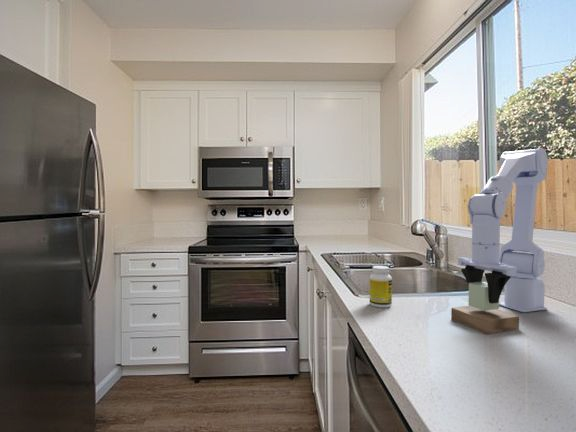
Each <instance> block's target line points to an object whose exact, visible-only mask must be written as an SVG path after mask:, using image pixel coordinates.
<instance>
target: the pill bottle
mask: <svg viewBox="0 0 576 432" xmlns="http://www.w3.org/2000/svg"><path fill="white" fill-rule="evenodd" d="M372 272H373V273H371V274H370V275H369V304H370V306H371V307H374V308H381V309H382V308H384V309H387V308H390V307H391V306H392V303H393V302H392V301H393V298H392V297H393V294H392V292H393V276H391V275H390V274H389V273H390V267H389V266H385V265H374V266H373V265H372Z"/></svg>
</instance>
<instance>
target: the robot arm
mask: <svg viewBox="0 0 576 432" xmlns="http://www.w3.org/2000/svg"><path fill="white" fill-rule="evenodd" d="M546 151H547V150H546V149H544V148H543V147H538V148H533V149H532V148H531V149H522V150H513V151H503V152H502V154H501V155H500V158H499V167H500V169H499V171H498V173H497V175H492V176H491V177H490V178H489V179H488V180H487V182H486V183H485V185H484V187H482V189H481V190H480V192H479V193H475V194H474V195H473V196H471V197H469V199H468V205H467V211H468V212H467V213H468V215H469V223H470V224H471V227H472V229H471V232H472V233H471V257H469V258H468V257H464V256H463V257H457V266H461V267H462V266H463V267H464V268H461V270H460V271H461V273H462V275H463V276H464V278H465V281H466V283H467V286H468V287H469V283H474V282H483V281H482V280H483V277H484V276H485V279H486V283H487V284H488V298H489V303H498V301H499V306H501V307H504V308H508V309H511V310H514V311H517V312H520V313H530V312H536V311H538V312H539V311H544V310H548V307H546V306H545V293H546V292H545V290H546V288H545V283H544V281H543V279H541V276H542V275H543V274H544V271H545V268H546V267H545V265H546V264H545V252H544V250H543V248H542V247H540V246H539V245H538V244H537V243H535V242H534V241H533V238H534V226H535V216H536V208H537V207H536V205H537V197H538V196H537V195H538V194H537V193H538V189H539V183H541V182H543V181H545V180H546V177H547V174H548V154H547V152H546ZM514 184H515V186H516V190H515V201H514V211H513V220H512V221H513V222H512V232H511V233H512V234H511V239H510V240H509V241H508V242H506V243H505V244H502V246H501V247H500V236H501V235H500V232H501V231H500V230H501V218H503V216H504V215H505V212H506V205H507V204H508V202H507V199H508V197H509V196H510V195H511V193H512V191H513V189H514ZM485 271H488V272H485ZM483 275H484V276H483ZM503 290H504V301H501V302H500V298H501V294H502V292H503Z"/></svg>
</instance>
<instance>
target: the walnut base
mask: <svg viewBox="0 0 576 432" xmlns="http://www.w3.org/2000/svg"><path fill="white" fill-rule="evenodd" d="M450 313H451V314H450V315H451V318H450V319H451V320H452V321H453V322H456V323H459V324H461V325H462V326H463V325H464V326H466V327H468V328H470V329H473V330H475V331H477V330H478V331H477V332H480V333H482V334H485V335H489V334H495V333H496V334H497V333H502V332H508V331H515V330H520V316H519V315H518V314H513V313H510V312H507V311H504V310H501V309H494V310H486V311H484V310H481V309H478V308H475V307H472V306H469V305H463V306H456V307H451V311H450Z"/></svg>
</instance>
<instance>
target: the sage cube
mask: <svg viewBox="0 0 576 432" xmlns="http://www.w3.org/2000/svg"><path fill="white" fill-rule="evenodd" d="M499 302H500V300H499V301H498V303H489V298H488V284H487V281H481V282H474V283H469V286H468V305H467V306H472V307H475V308H478V309H481V310H484V311H486V310H494V309H498V310H500V305H499Z"/></svg>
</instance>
